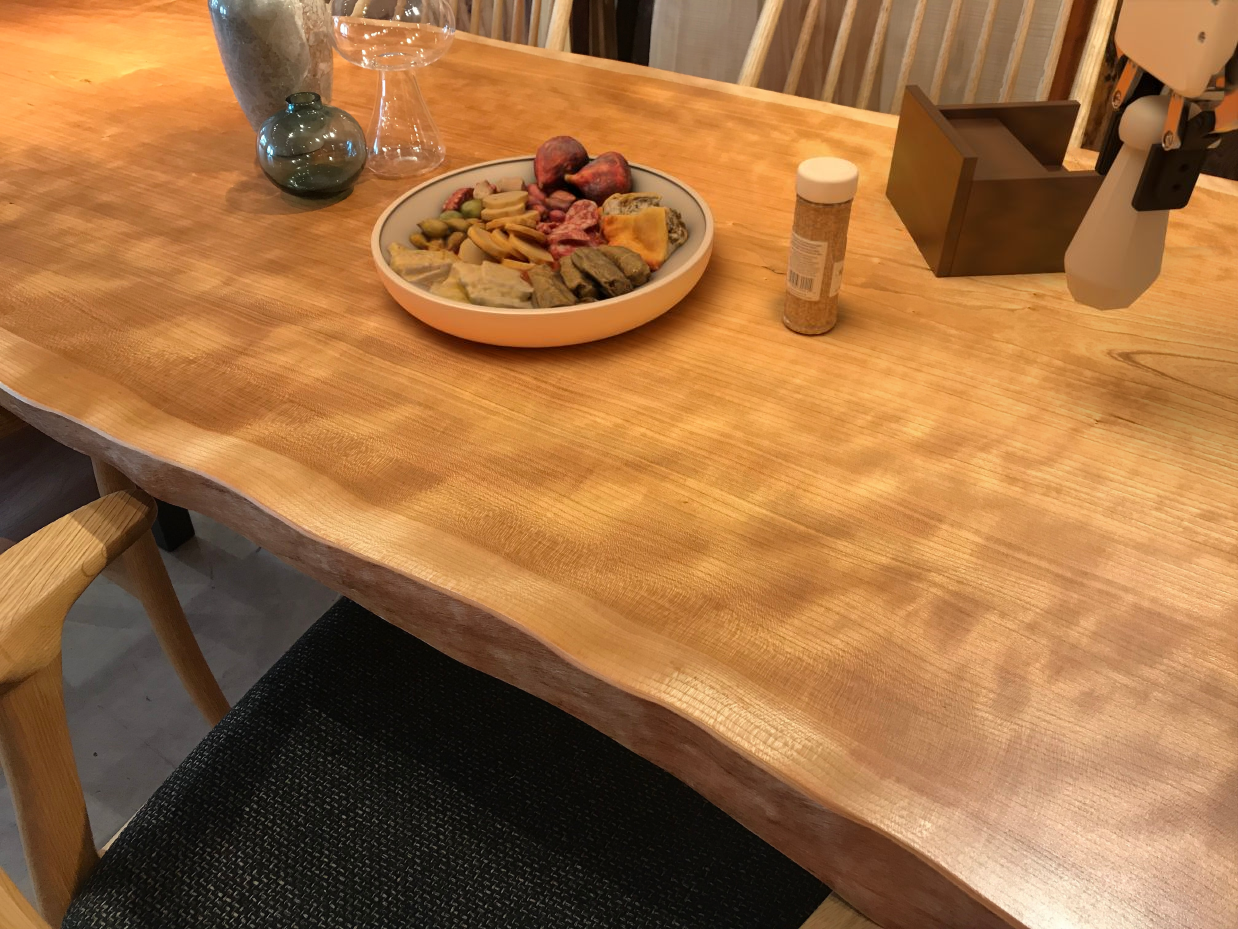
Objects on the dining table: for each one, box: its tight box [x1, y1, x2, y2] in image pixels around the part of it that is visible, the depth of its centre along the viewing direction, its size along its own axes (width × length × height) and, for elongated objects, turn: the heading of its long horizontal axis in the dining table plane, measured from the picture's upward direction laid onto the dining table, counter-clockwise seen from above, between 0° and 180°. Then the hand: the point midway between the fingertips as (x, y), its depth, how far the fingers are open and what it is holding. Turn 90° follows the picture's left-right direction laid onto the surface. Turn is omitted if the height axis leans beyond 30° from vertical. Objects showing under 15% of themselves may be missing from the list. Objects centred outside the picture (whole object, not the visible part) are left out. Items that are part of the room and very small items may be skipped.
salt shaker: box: [1064, 95, 1203, 312], centre depth 58 cm, size 6×6×13 cm
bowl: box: [370, 135, 715, 348], centre depth 81 cm, size 30×30×8 cm
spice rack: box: [885, 84, 1107, 278], centre depth 84 cm, size 17×17×11 cm
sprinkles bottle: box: [781, 156, 860, 335], centre depth 72 cm, size 5×5×13 cm
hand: (1138, 186), depth 57 cm, fingers closed on salt shaker, 4 cm apart
